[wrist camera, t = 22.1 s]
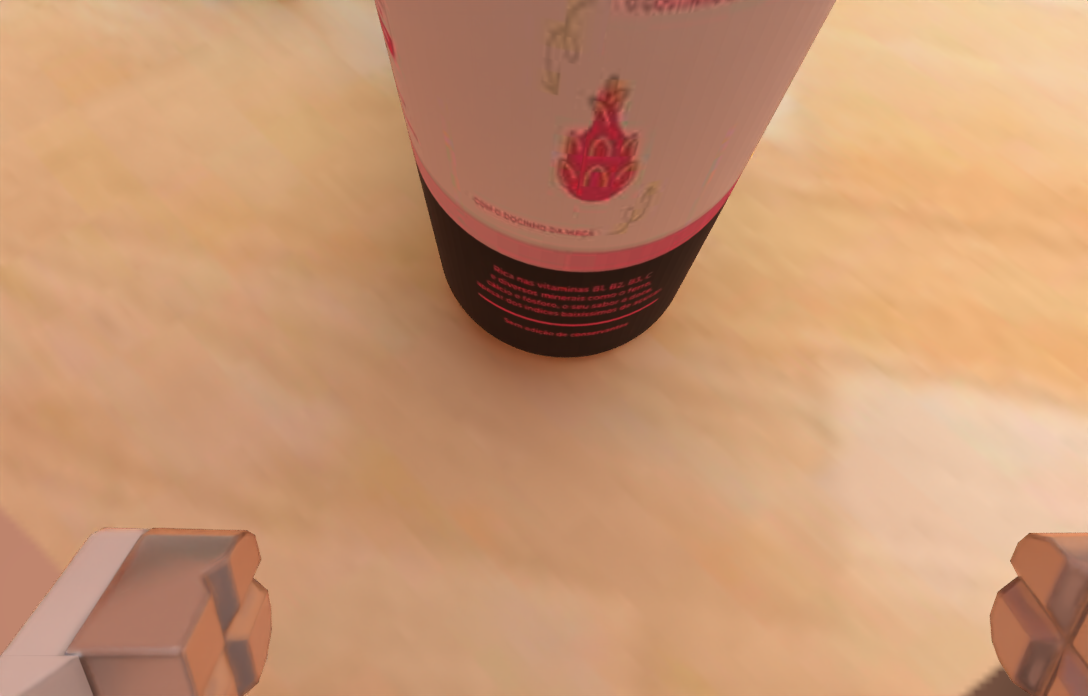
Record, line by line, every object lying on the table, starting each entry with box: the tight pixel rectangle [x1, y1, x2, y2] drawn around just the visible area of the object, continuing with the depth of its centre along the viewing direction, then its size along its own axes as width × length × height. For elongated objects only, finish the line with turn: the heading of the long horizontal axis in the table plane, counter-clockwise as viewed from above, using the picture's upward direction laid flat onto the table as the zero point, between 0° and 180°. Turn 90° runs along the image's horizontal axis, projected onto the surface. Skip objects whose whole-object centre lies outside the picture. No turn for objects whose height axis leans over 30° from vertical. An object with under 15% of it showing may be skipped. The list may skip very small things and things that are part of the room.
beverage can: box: [375, 0, 836, 357], centre depth 14 cm, size 7×7×15 cm
